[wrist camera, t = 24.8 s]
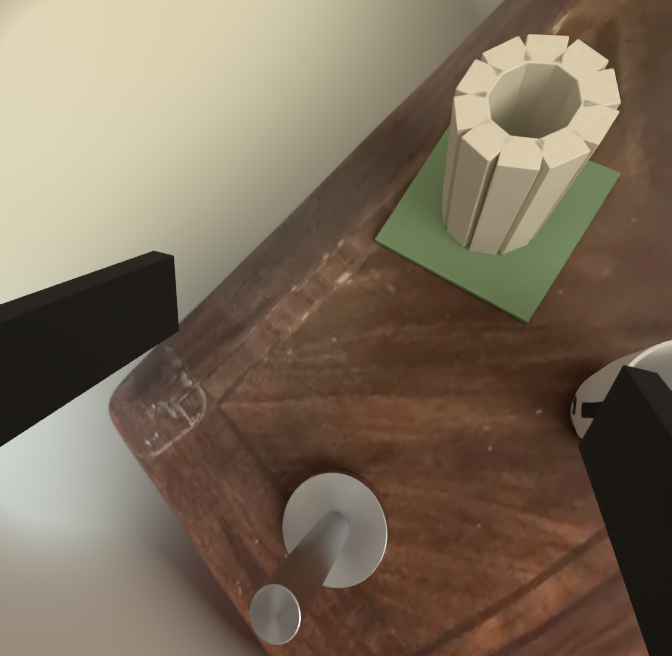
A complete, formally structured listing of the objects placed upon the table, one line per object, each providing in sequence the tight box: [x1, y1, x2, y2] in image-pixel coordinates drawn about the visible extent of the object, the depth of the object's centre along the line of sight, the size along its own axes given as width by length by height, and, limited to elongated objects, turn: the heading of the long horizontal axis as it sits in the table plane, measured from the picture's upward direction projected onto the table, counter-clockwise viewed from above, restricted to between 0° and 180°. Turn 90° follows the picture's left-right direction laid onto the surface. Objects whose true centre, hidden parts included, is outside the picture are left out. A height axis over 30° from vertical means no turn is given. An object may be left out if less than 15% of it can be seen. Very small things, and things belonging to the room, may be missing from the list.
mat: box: [375, 123, 621, 323], centre depth 33 cm, size 14×14×1 cm
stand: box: [250, 470, 389, 645], centre depth 24 cm, size 8×8×14 cm
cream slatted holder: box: [441, 34, 621, 255], centre depth 27 cm, size 8×8×12 cm
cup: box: [570, 340, 672, 440], centre depth 24 cm, size 8×8×10 cm
